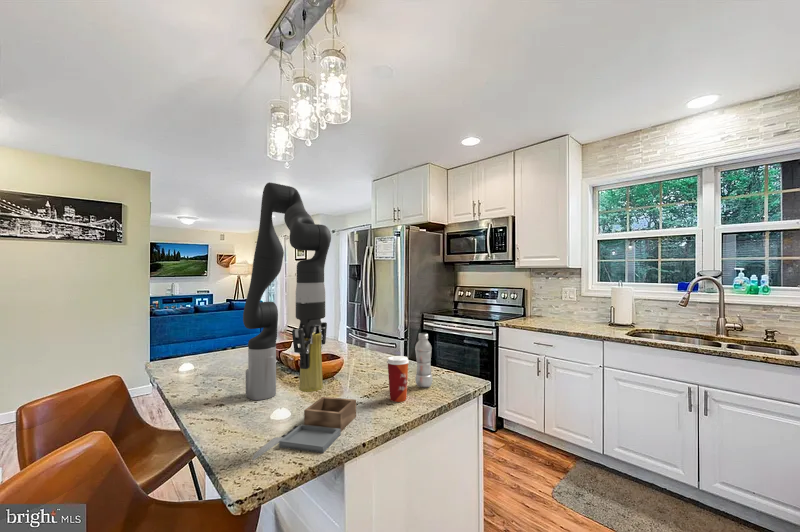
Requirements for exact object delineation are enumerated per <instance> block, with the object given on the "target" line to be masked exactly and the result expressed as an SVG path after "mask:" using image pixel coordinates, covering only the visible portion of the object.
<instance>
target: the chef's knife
mask: <svg viewBox="0 0 800 532" xmlns="http://www.w3.org/2000/svg"><path fill="white" fill-rule="evenodd" d="M298 426H299V425H294V426H293V427H292V429H290V430H289V431H288V432H286V433H284V434H282V435H281V436H279V437H273V438H272V439H270V440H269V441H268V442H266V443H265V444H264V445H263V446H261V447H260V448H259V449H258V450H257V451H256V452H255V453H254V455H253V456H252V461H255V460H257V458H259V457H261V456H262V455H263V454H265V453H267V451H269V450H271V449H272V448H273V447H275V446H276V445H279V441H280V440H281V439H282V438H284V437H285V436H286V435H288V434H289V433H290V432H291V431H293V430H294V429H295V428H297V427H298Z"/></svg>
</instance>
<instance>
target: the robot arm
mask: <svg viewBox="0 0 800 532" xmlns="http://www.w3.org/2000/svg"><path fill="white" fill-rule="evenodd" d="M260 207H261V208H260V216H259V228H258V234H257V239H256V243H255V244H256V245H255V249H254V255H253V261H252V263H253V264H252V268H251V269H252V270H251V276H250V283H249V287H248V291H247V296H246V300H245V303H244V308H243V313H242V322H243V325H244V327H245V328H246V329H249V330H255V329H256V330H257V329H262V331H261V332H260V333H259V334H256V336H254V337H251V338H250V339H249V340H248V343H247V352H248V354H247V357H248V358H247V360H248V362H247V366H248V367H247V369H246V370H245V398H248V399H249V400H253V401H262V400H266V399H267V400H268V399H270V398H273V397H274V396H277V340H278V323H279V309H278V306H277V304H276V303H275V301H261V300H262V297H263V295H264V293H265V291H266V289H268V287H269V286H270V285H271V284H272V283H273V282H274V281H275V279H276V278H277V277H278V275H279V274H280V272H281V270H282V266H283V261H284V253H285V252H284V251H285V250H284V248H283V245H282V243H281V241H280V238H279V237H278V235H277V233H276V230H275V227H274V224H273V223H274V222H273V213H278V214H284V215H283V216H284V217H283V218H284V219H283V220H284V224H285V225H286V227H287V228H288V230H289V238H288V239H289V243H290V246H291V247H292V248H293V249H295V250H298V251H305V252H306V251H308V252H312V251H313V252H314V255H313V256H312V257H311V258H307V259H302V260H300V261H298V262H297V264H296V287H295V319H297V320H299V327H298V328H293V329H292V330H291V331H292V332H291V335H292V344H293V351H294V353H296V354H299V361H300V362H299V367H300V368H301V369H308V368H309V350H310V346H311V345H312V344H313V335H314V334H320V332H321V349H322V348H323V345H325V344H326V343H327V342H326V341H327V328H328V324H327V323H328V322H322V319H325V318H326V288H325V266H326V260H327V256H328V253H329V248H330V245H331V241H332V234H331V230H330V229H329V227H328V226H326V225H324V224H317V223H316V222H315V221H314V219H313V218H312V217H311V215H310V213H308V211H306V208H305V206H304V202H303V200H302V197H301V194H300V192H299V191H298V190H297V189H296V188H295V187H293V186H290V185H286V184H280V183H277V182H276V183H275V182H267V183H266V184H265V185H264V188H263V191H262V195H261V206H260ZM304 338H308V339H309V340H308V341H304ZM305 344H306V349H305ZM300 368H299V369H300Z"/></svg>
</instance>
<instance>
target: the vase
mask: <svg viewBox="0 0 800 532" xmlns="http://www.w3.org/2000/svg"><path fill="white" fill-rule="evenodd" d="M308 340H309V339H308V338H304V341H308ZM305 349H306V344H305ZM322 359H323V358H322V348H321V332H320V334H314V335H313V344H312V345H311V346H310V350H309V368H308V369H301V368H299V386H298V389H299V391H300V392H302V393H303V392H304V393H313V392H314V393H315V392H318V391H320V390H322V389H323V388H324V383H323V361H322Z"/></svg>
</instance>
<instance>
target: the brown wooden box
mask: <svg viewBox="0 0 800 532" xmlns="http://www.w3.org/2000/svg"><path fill="white" fill-rule="evenodd" d="M303 412H304V413H303V414H304V415H303V416H304V417H303V421H304V424H303V425H312V426H321V427H330V428H339V429H341V433H342V432H343V431H344V430H345V427H346V426H348V425H350V424H351V423H352V422H353V421H354V419H356V417H357V399H352V398H340V397H332V396H331V397H330V396H322V397H320V398H319V399H318V400H317V401H315V402H314V403H312V404H311V405H310V406H308V407H307V408H305V409H304V411H303ZM346 428H347V427H346Z"/></svg>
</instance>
